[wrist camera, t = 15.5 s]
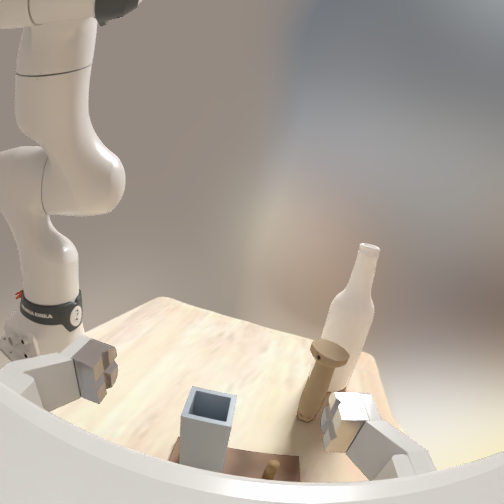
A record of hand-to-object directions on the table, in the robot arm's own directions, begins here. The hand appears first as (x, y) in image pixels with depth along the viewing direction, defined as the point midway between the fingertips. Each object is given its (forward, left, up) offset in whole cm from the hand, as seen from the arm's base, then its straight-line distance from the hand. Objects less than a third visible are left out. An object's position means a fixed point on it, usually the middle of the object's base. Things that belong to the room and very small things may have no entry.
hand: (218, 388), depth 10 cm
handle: (+14, +30, -30) cm, 45 cm away
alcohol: (+20, +42, -30) cm, 56 cm away
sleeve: (-2, +15, -29) cm, 33 cm away
